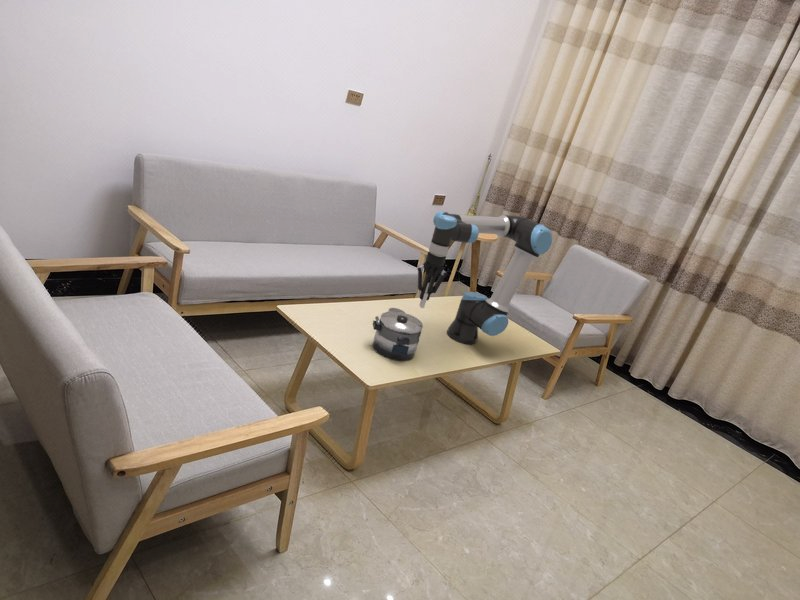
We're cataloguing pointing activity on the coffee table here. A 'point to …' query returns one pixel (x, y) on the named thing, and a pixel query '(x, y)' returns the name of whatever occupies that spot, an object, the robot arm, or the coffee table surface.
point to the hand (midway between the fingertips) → (421, 306)
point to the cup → (395, 310)
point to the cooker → (394, 343)
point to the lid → (400, 322)
